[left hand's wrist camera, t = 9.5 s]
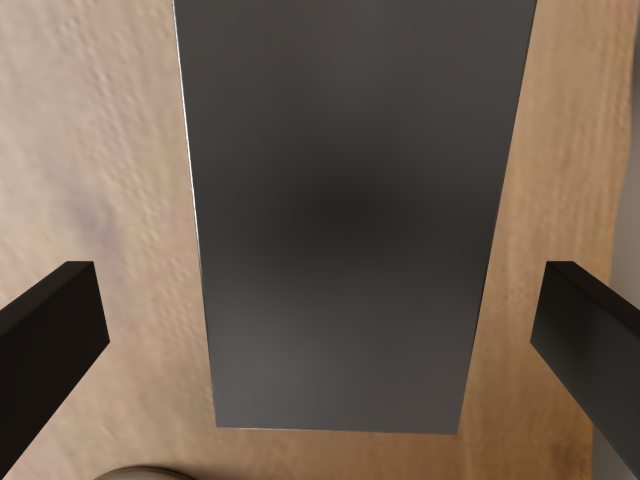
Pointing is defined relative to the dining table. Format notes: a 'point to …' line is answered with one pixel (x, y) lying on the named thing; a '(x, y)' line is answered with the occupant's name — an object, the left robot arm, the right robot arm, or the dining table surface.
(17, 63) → the dining table surface
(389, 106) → the bar
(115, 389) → the dining table surface
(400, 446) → the dining table surface
